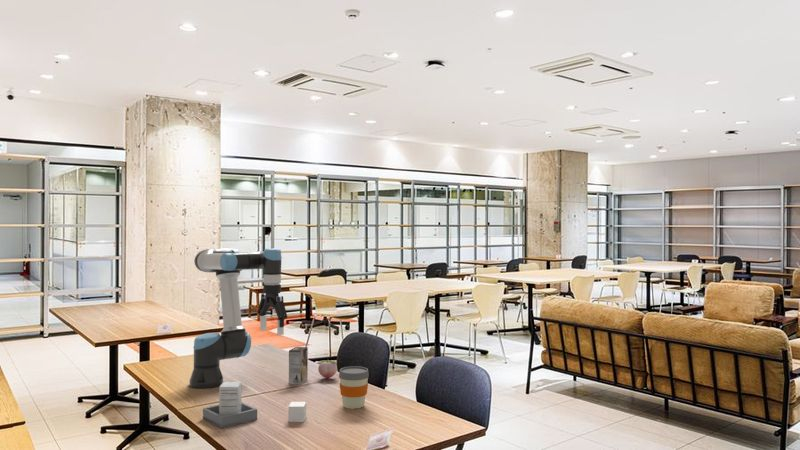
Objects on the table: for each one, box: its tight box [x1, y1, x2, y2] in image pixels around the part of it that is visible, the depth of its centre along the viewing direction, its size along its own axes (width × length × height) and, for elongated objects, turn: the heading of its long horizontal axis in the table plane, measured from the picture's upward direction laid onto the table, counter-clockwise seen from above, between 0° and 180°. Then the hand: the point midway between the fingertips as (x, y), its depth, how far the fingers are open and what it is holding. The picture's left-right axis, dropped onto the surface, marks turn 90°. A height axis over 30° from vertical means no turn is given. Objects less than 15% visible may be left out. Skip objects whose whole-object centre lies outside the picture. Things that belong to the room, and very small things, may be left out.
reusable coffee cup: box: [338, 365, 370, 410], centre depth 241 cm, size 12×13×15 cm
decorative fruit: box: [318, 358, 338, 380], centre depth 283 cm, size 9×8×10 cm
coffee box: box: [288, 346, 309, 385], centre depth 276 cm, size 9×6×16 cm
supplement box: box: [218, 381, 242, 417], centre depth 223 cm, size 7×7×13 cm
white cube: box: [288, 401, 307, 423], centre depth 223 cm, size 6×6×6 cm
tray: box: [202, 401, 258, 429], centre depth 223 cm, size 15×15×4 cm
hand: (271, 332), depth 250 cm, fingers open, 13 cm apart
